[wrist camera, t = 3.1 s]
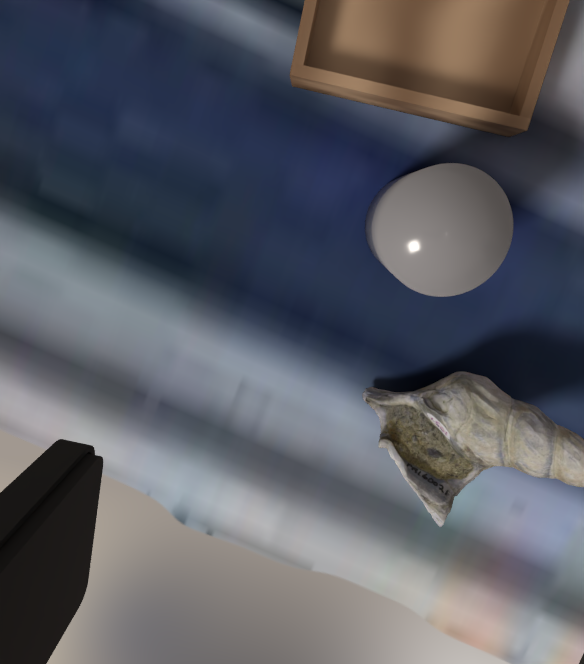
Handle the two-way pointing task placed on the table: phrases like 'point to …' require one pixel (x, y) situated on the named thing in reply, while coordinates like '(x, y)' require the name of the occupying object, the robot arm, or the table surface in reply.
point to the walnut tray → (432, 56)
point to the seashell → (469, 437)
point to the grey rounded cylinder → (440, 228)
